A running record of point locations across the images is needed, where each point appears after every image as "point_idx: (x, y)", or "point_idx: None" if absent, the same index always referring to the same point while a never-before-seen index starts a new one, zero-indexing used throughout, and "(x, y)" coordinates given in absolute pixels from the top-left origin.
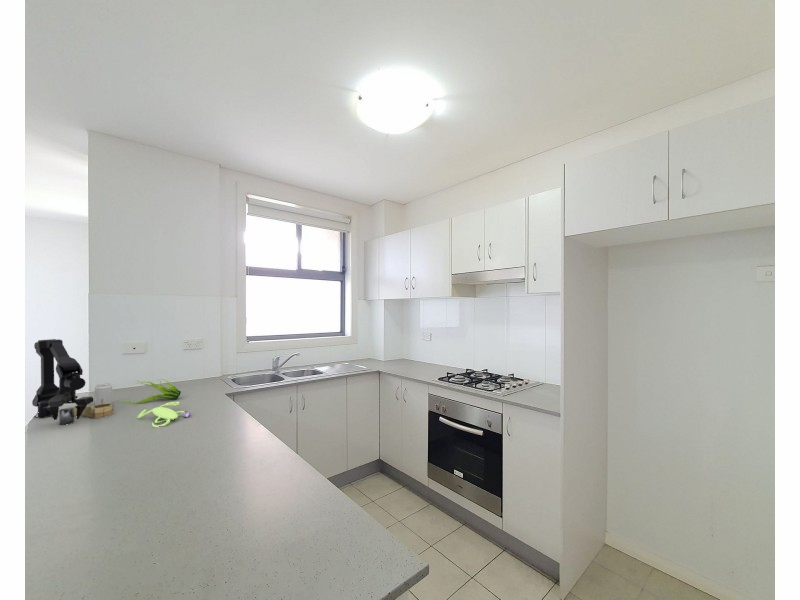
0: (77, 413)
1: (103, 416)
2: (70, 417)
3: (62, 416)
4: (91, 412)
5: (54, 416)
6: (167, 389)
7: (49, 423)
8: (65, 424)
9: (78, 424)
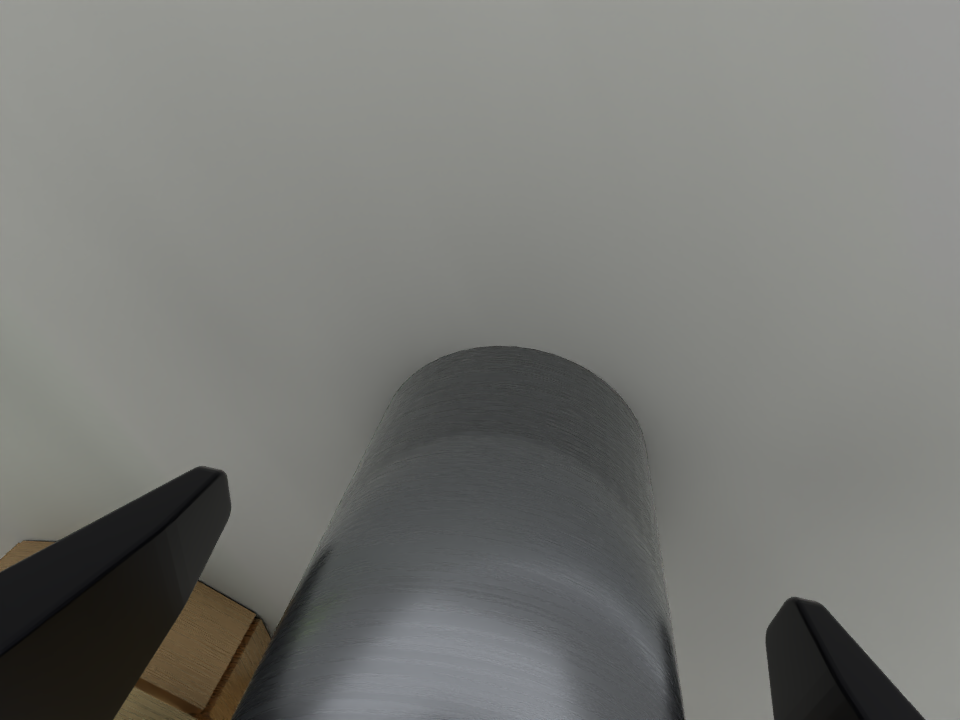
0: (40, 593)
1: (8, 556)
2: (332, 518)
3: (518, 561)
4: (155, 707)
5: (861, 715)
6: None
7: (901, 600)
8: (471, 354)
9: (162, 266)
